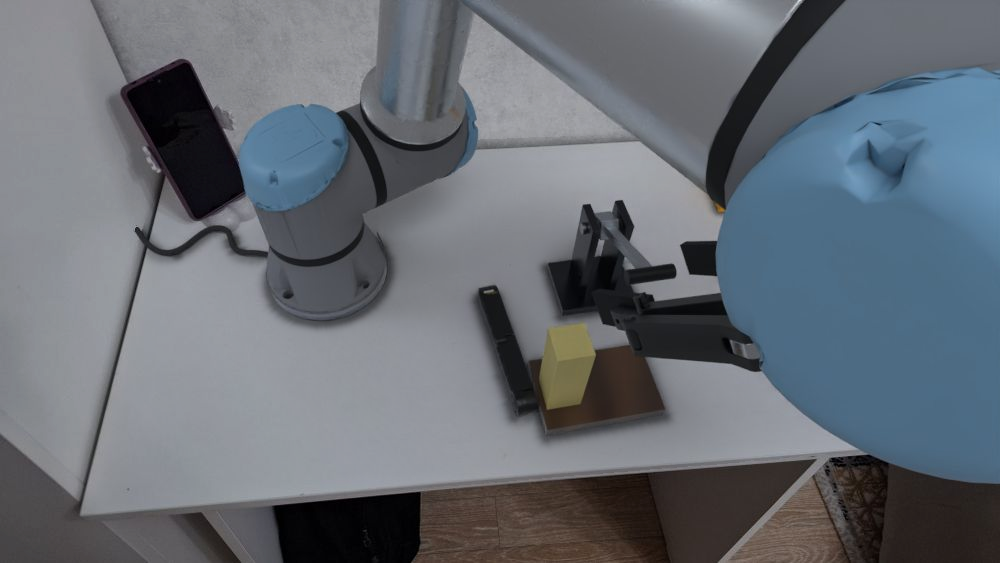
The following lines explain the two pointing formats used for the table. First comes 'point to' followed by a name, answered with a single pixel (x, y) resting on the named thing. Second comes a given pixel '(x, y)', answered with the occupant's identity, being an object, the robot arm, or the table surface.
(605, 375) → the board
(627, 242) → the arm
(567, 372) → the butter
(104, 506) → the table surface
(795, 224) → the robot arm
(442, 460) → the table surface
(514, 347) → the black long bar
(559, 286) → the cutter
